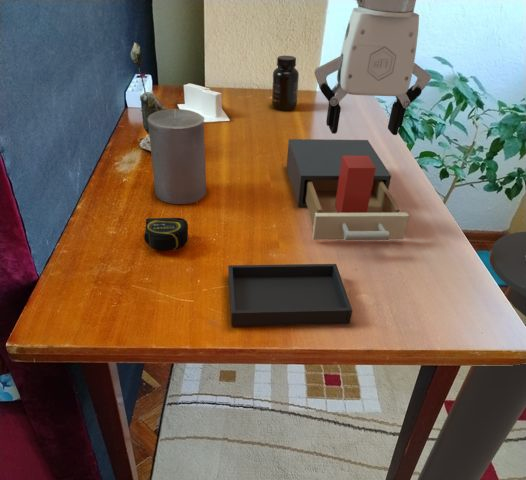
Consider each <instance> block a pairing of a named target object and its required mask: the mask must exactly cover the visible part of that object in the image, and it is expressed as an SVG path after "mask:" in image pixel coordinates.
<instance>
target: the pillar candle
mask: <svg viewBox="0 0 526 480" xmlns="http://www.w3.org/2000/svg"><path fill="white" fill-rule="evenodd" d="M148 127H149V136H150V145H151V151H150V156H151V165H152V176H153V184H154V193H155V196H156V197H157V199H158V200H160V201H161V202H164V203H167V204H171V205H189V204H193V203H197V202H199V201H200V200H202V198H204V197H205V196H206V195H207V176H206V175H207V174H206V173H207V172H206V171H207V169H206V144H205V122H204V117H203V116H202V115H200V114H198V113H196V112H193V111H190V110H183V109H179V108H171V109H166V110H161V111H157V112H154V113H152V114H151V115H149V116H148Z"/></svg>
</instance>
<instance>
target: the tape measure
mask: <svg viewBox="0 0 526 480" xmlns="http://www.w3.org/2000/svg"><path fill="white" fill-rule="evenodd" d="M188 231H189V223H188V221H187V220H186V219H185V218H181V217H149V218H145V228H144V234H143V238H144V241H145V243H146V244H147V245H148V247H150V248H151V249H152V250H154V251H158V252H172V251H177V250H180V249H182V248H184V247H185V246H186V245H187V244H188V240H189V232H188Z"/></svg>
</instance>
